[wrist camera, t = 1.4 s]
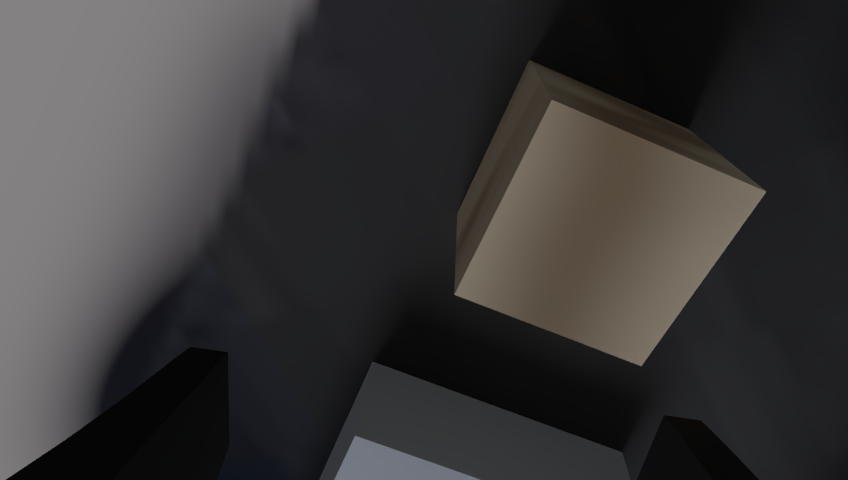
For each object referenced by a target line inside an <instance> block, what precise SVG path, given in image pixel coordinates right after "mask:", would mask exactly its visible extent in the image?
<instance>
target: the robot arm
mask: <svg viewBox="0 0 848 480" xmlns="http://www.w3.org/2000/svg"><path fill="white" fill-rule="evenodd" d="M228 447H229V400H228V352H222V351H215V350H208V349H201V348H194V347H190V348H189V349H187V350H186V351H184V352H183V353H182V354H180V355H179V356H178V357H176V358H175V359H173V360H172V361H171V362H170V363H168V364H167V365H166V366H164V367H163V368H162V369H160V370H159V371H158V372H156V373H155V374H154V375H153V376H151V377H150V378H149V379H147V380H146V381H145V382H143V383H142V384H141V385H140V386H138V387H137V388H136V389H134V390H133V391H132V392H130V393H129V394H128V395H126V396H125V397H124V398H122V399H121V400H120V401H119V402H117V403H116V404H114V405H113V406H112V407H110V408H109V409H107V410H106V411H105V412H103V413H102V414H101V415H99V416H98V417H96V418H95V419H94V420H92V421H91V422H90V423H88V424H87V425H86V426H84V427H83V428H82V429H80V430H79V431H77V432H76V433H74V434H73V435H72V436H70V437H69V438H67V439H66V440H65V441H63V442H62V443H60V444H59V445H57V446H56V447H54V448H53V449H51V450H50V451H48V452H47V453H45V454H44V455H42V456H41V457H40V458H38V459H36V460H35V461H33V462H32V463H30V464H29V465H28V466H26V467H24V468H23V469H21V470H20V471H18V472H17V473H16V474H14V475H12V476H11V477H9V478H8V479H6V480H217V478H218V475H219V472H220V469H221V467H222V464H223V461H224V458H225V455H226V452H227V450H228ZM637 480H759V479H758V478H757V477H756V476H755V475H754V474H753V473H752V472H751V471H750V470H749V469H748V468H747V467H746V466H745V465H744V464H743V463H742V462H741V461H740V459H739V458H738V457H737V456H736V455H735V454H734V453H733V452H732V451H731V450H730V449H729V448H728V447H727V446H726V445H725V444H724V443H723V442H722V441H721V440H720V439H719V438H718V437H717V436H716V435H715V434H714V433H713V432H712V431H711V430H710V429H709V428H708V427H707V426H706V425H705V424H704V423H703V422H702V421H700V420H693V419H686V418H679V417H672V416H665V415H664V416H663V419H662V421H661V424H660V426H659V428H658V431H657V433H656V435H655V438H654V440H653V443H652V445H651V447H650V450H649V452H648V455H647V457H646V459H645V462H644V464H643V466H642V469H641V471H640V474H639V476H638V478H637Z"/></svg>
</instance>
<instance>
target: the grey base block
mask: <svg viewBox="0 0 848 480" xmlns="http://www.w3.org/2000/svg"><path fill="white" fill-rule="evenodd" d="M319 480H630V477H629V473H628V470H627V467H626V464H625V460H624V457H623V454H622V452H620V451H617V450H614V449H611V448H609V447H606V446H603V445H600V444H598V443H595V442H592V441H589V440H587V439H584V438H581V437H578V436H576V435H573V434H570V433H567V432H565V431H562V430H559V429H556V428H554V427H551V426H548V425H545V424H543V423H540V422H537V421H534V420H532V419H529V418H526V417H523V416H521V415H518V414H515V413H512V412H510V411H507V410H504V409H501V408H499V407H496V406H493V405H490V404H488V403H485V402H482V401H479V400H477V399H474V398H471V397H468V396H466V395H463V394H460V393H457V392H455V391H452V390H449V389H446V388H444V387H441V386H438V385H435V384H433V383H430V382H427V381H424V380H422V379H419V378H416V377H413V376H411V375H408V374H405V373H402V372H400V371H397V370H394V369H391V368H389V367H386V366H383V365H380V364H378V363H375V362H372V364H371V366H370V368H369V371H368V373H367V375H366V377H365V379H364V382H363V384H362V386H361V388H360V390H359V393H358V395H357V397H356V399H355V402H354V404H353V406H352V408H351V410H350V413H349V415H348V417H347V419H346V421H345V424H344V426H343V428H342V430H341V432H340V435H339V437H338V439H337V441H336V443H335V446H334V448H333V450H332V452H331V455H330V457H329V459H328V461H327V463H326V466H325V468H324V470H323V472H322V474H321V477H320V479H319Z"/></svg>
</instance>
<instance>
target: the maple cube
mask: <svg viewBox="0 0 848 480" xmlns="http://www.w3.org/2000/svg"><path fill="white" fill-rule="evenodd" d="M765 193H766V191H765V190H764V189H763V188H761V187H760V186H759V185H758V184H756V183H755V182H754V181H753V180H751V179H750V178H749V177H748V176H746V175H745V174H744V173H743V172H741V171H740V170H739V169H738V168H736V167H735V166H734V165H733V164H731V163H730V162H729V161H728V160H726V159H725V158H724V157H723V156H721V155H720V154H719V153H718V152H716V151H715V150H714V149H713V148H711V147H710V146H709V145H708V144H706V143H705V142H704V141H703V140H701V139H700V138H699V137H698V136H696V135H695V134H694V133H693V132H691V131H690V130H689V129H687V128H685V127H682V126H680V125H678V124H675V123H673V122H671V121H669V120H666V119H664V118H662V117H659V116H657V115H655V114H652V113H650V112H648V111H646V110H643V109H641V108H639V107H636V106H634V105H632V104H629V103H627V102H625V101H622V100H620V99H618V98H616V97H613V96H611V95H609V94H606V93H604V92H602V91H599V90H597V89H595V88H593V87H590V86H588V85H586V84H583V83H581V82H579V81H576V80H574V79H572V78H570V77H567V76H565V75H563V74H560V73H558V72H556V71H553V70H551V69H549V68H547V67H544V66H542V65H540V64H537V63H535V62H533V61H530V60H529V62H528V64H527V66H526V68H525V70H524V72H523V74H522V77H521V79H520V81H519V83H518V85H517V87H516V89H515V92H514V94H513V96H512V98H511V100H510V102H509V104H508V107H507V109H506V111H505V113H504V115H503V117H502V119H501V121H500V124H499V126H498V128H497V130H496V132H495V134H494V136H493V139H492V141H491V143H490V145H489V147H488V149H487V151H486V153H485V156H484V158H483V160H482V162H481V164H480V166H479V168H478V171H477V173H476V175H475V177H474V179H473V181H472V183H471V185H470V188H469V190H468V192H467V194H466V196H465V198H464V200H463V203H462V205H461V207H460V209H459V211H458V215H457V240H456V265H455V291H454V295H457V296H459V297H462V298H464V299H467V300H470V301H472V302H475V303H477V304H480V305H483V306H485V307H488V308H491V309H493V310H496V311H498V312H501V313H504V314H506V315H509V316H511V317H514V318H517V319H519V320H522V321H525V322H527V323H530V324H532V325H535V326H538V327H540V328H543V329H545V330H548V331H551V332H553V333H556V334H559V335H561V336H564V337H566V338H569V339H572V340H574V341H577V342H579V343H582V344H585V345H587V346H590V347H592V348H595V349H598V350H600V351H603V352H606V353H608V354H611V355H613V356H616V357H619V358H621V359H624V360H626V361H629V362H632V363H634V364H637V365H640V366H642V365H643V363H644V362H645V360H646V359H647V358H648V356H649V355H650V353H651V352H652V351H653V349H654V348H655V346H656V345H657V344H658V342H659V341H660V339H661V338H662V337H663V335H664V334H665V332H666V331H667V330H668V328H669V327H670V325H671V324H672V323H673V321H674V320H675V318H676V317H677V316H678V314H679V313H680V311H681V310H682V309H683V307H684V306H685V305H686V303H687V302H688V300H689V299H690V298H691V296H692V295H693V293H694V292H695V291H696V289H697V288H698V286H699V285H700V284H701V282H702V281H703V279H704V278H705V277H706V275H707V274H708V272H709V271H710V270H711V268H712V267H713V265H714V264H715V263H716V261H717V260H718V258H719V257H720V256H721V254H722V253H723V251H724V250H725V249H726V247H727V246H728V245H729V243H730V242H731V240H732V239H733V238H734V236H735V235H736V233H737V232H738V231H739V229H740V228H741V226H742V225H743V224H744V222H745V221H746V219H747V218H748V217H749V215H750V214H751V212H752V211H753V210H754V208H755V207H756V205H757V204H758V203H759V201H760V200H761V198H762V197H763V196H764V194H765Z"/></svg>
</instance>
